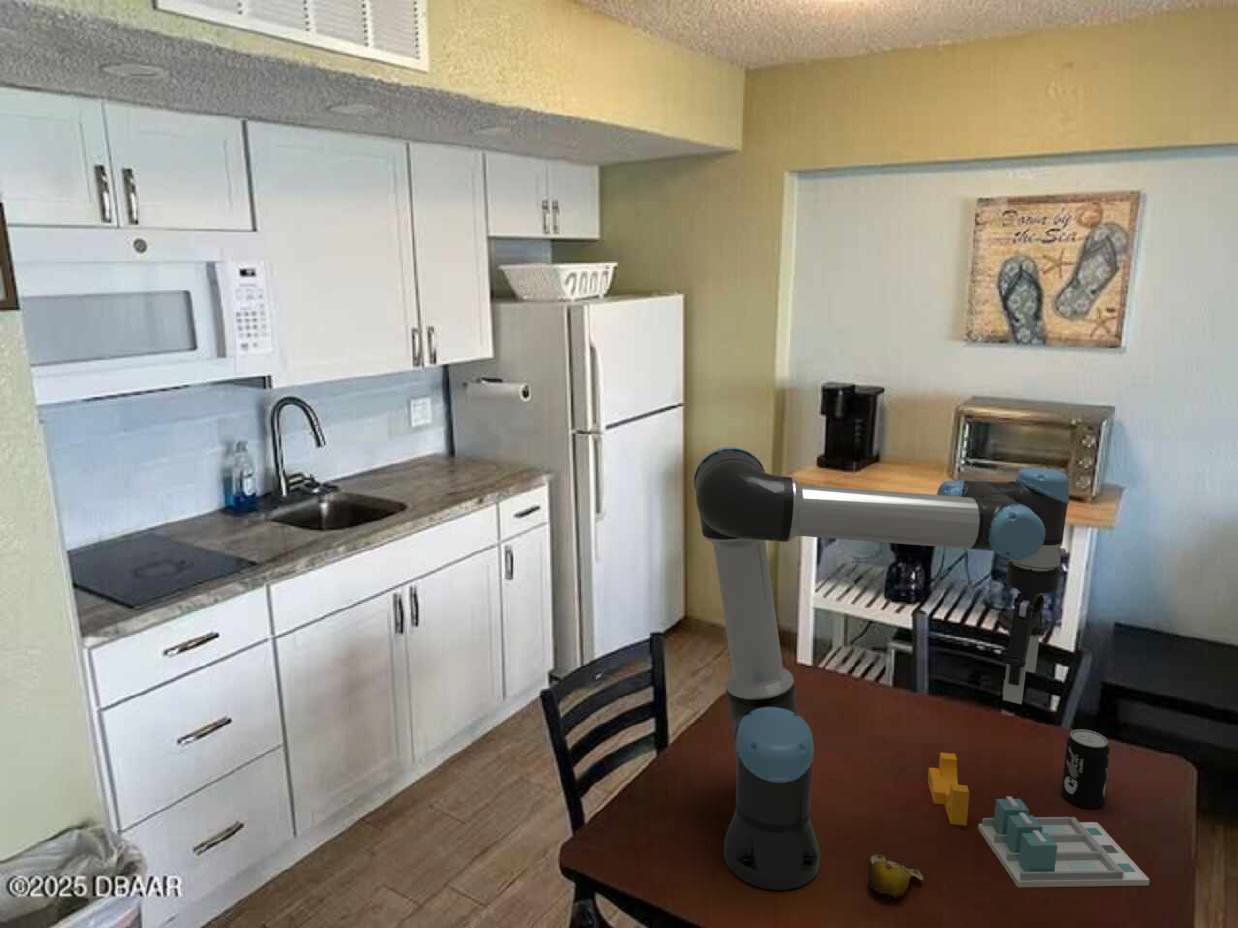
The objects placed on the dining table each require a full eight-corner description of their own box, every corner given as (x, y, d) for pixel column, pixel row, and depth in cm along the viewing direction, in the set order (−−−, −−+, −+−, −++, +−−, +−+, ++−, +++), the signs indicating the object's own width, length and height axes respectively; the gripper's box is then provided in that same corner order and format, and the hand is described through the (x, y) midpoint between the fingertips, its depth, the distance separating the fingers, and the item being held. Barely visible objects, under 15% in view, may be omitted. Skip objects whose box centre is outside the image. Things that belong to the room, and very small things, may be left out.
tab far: (1001, 837, 136) (1004, 806, 134) (993, 825, 139) (996, 795, 137) (1026, 837, 136) (1029, 806, 135) (1017, 825, 139) (1020, 795, 137)
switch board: (1017, 887, 126) (1019, 874, 126) (978, 828, 140) (979, 817, 139) (1148, 885, 126) (1150, 872, 126) (1096, 827, 140) (1097, 815, 140)
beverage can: (1102, 814, 143) (1110, 751, 141) (1059, 802, 147) (1066, 740, 144) (1104, 795, 149) (1111, 734, 146) (1062, 784, 152) (1069, 724, 150)
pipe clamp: (927, 783, 153) (930, 751, 152) (952, 785, 152) (955, 753, 151) (939, 823, 142) (942, 789, 140) (966, 826, 141) (969, 792, 140)
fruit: (926, 875, 128) (927, 855, 127) (909, 910, 122) (910, 889, 121) (873, 854, 133) (874, 834, 132) (854, 886, 127) (855, 866, 126)
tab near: (1028, 874, 127) (1031, 841, 126) (1018, 861, 130) (1021, 829, 129) (1054, 874, 127) (1057, 841, 126) (1044, 860, 130) (1047, 829, 129)
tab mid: (1014, 855, 131) (1017, 823, 130) (1005, 843, 134) (1008, 812, 133) (1039, 855, 131) (1042, 823, 130) (1030, 842, 134) (1033, 811, 133)
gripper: (1048, 590, 122) (1032, 722, 127) (1069, 549, 143) (1054, 663, 147) (993, 580, 127) (979, 708, 131) (1021, 541, 147) (1008, 653, 151)
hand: (1019, 685), depth 139 cm, fingers open, 13 cm apart
